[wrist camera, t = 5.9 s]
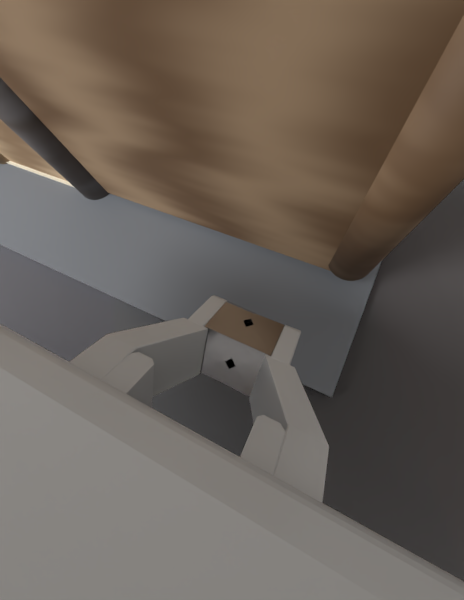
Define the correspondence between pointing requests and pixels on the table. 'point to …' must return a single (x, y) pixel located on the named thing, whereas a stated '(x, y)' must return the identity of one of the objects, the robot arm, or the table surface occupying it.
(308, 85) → the fence leaf
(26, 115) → the fixed fence
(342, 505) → the table surface
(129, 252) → the board
